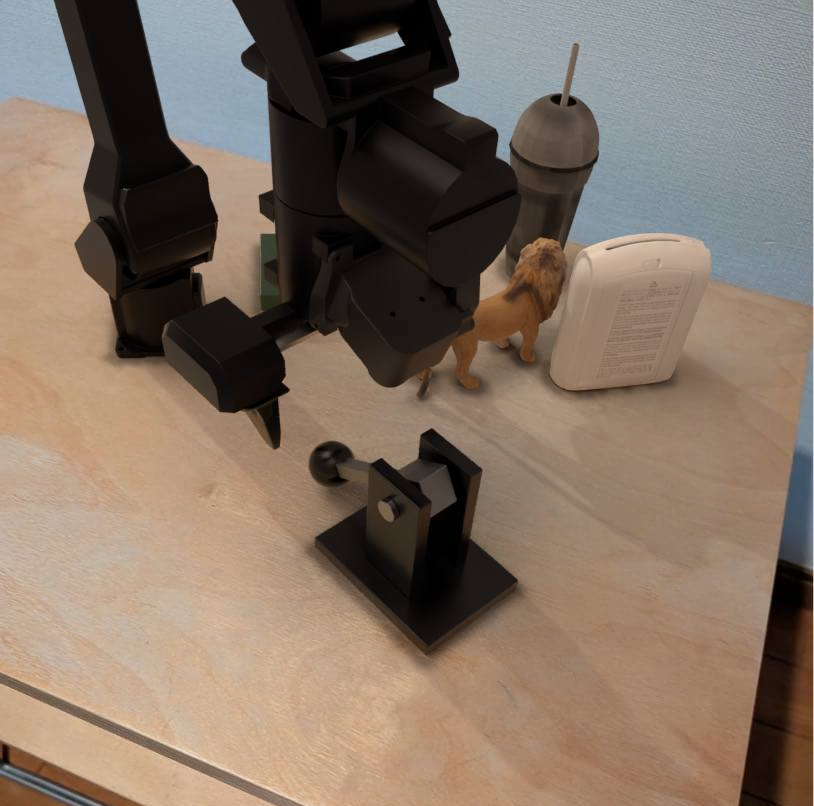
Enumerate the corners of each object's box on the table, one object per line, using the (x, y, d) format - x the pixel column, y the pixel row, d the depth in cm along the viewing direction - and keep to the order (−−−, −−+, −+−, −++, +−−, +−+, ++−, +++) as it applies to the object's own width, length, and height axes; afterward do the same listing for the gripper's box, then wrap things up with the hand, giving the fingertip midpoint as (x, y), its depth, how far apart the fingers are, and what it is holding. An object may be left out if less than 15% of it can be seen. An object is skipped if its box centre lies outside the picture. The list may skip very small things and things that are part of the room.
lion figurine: (519, 312, 78) (537, 218, 71) (566, 343, 76) (590, 249, 69) (395, 386, 71) (401, 289, 64) (443, 422, 69) (455, 325, 62)
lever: (308, 492, 63) (293, 450, 61) (345, 471, 64) (330, 430, 63) (425, 528, 53) (410, 480, 51) (465, 502, 54) (451, 454, 53)
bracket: (314, 548, 61) (312, 443, 53) (404, 492, 64) (413, 387, 57) (425, 657, 56) (440, 560, 48) (515, 590, 59) (542, 490, 52)
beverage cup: (569, 253, 84) (623, 22, 69) (570, 300, 80) (628, 64, 64) (491, 244, 84) (527, 11, 69) (488, 291, 80) (525, 53, 64)
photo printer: (657, 350, 76) (704, 216, 66) (678, 384, 73) (730, 250, 64) (541, 362, 74) (572, 226, 65) (558, 398, 72) (593, 262, 62)
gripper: (275, 338, 38) (290, 564, 50) (569, 197, 47) (521, 420, 59) (134, 219, 43) (178, 451, 55) (424, 111, 52) (407, 333, 64)
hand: (330, 413), depth 58 cm, fingers open, 9 cm apart
